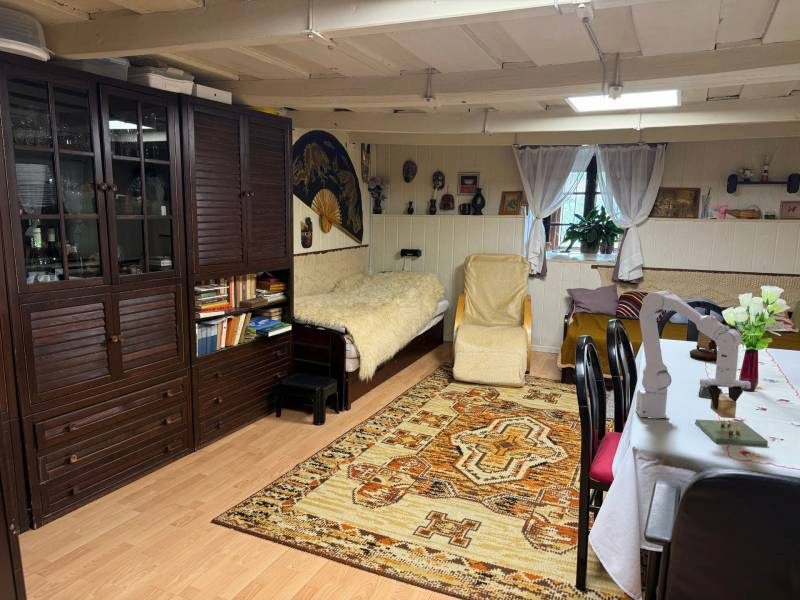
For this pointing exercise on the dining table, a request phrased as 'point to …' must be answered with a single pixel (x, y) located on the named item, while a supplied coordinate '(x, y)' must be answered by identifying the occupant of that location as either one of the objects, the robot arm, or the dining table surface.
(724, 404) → the oak block
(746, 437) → the green slab
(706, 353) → the brown wooden ornament
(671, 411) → the dining table surface
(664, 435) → the dining table surface
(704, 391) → the phone
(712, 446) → the dining table surface
